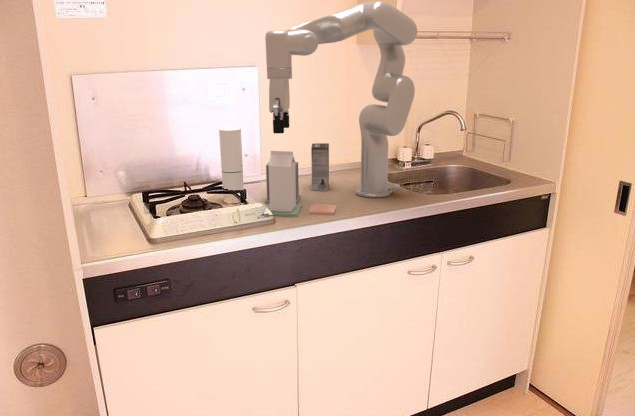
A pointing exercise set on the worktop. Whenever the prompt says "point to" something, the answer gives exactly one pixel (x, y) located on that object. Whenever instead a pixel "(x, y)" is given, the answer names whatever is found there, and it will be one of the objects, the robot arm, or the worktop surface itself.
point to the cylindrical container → (231, 159)
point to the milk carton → (282, 181)
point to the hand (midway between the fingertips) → (281, 130)
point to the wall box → (296, 184)
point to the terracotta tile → (323, 209)
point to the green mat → (293, 213)
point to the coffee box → (320, 166)
